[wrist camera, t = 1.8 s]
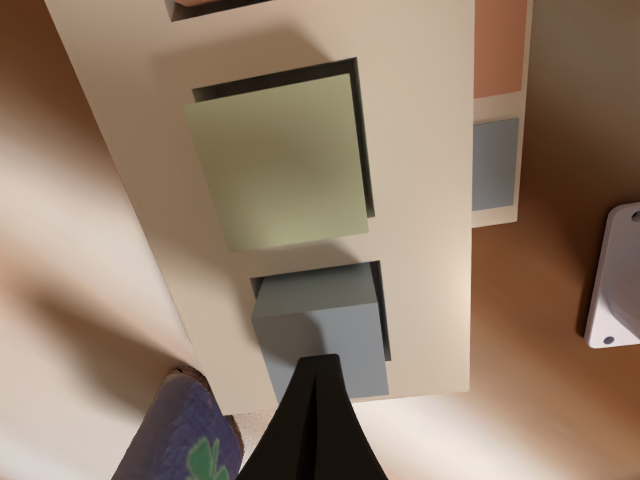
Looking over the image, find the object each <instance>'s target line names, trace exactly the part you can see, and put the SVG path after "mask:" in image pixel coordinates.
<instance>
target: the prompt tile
mask: <svg viewBox="0 0 640 480" xmlns="http://www.w3.org/2000/svg"><path fill="white" fill-rule="evenodd" d="M532 13H533V0H475V28H474V95H473V162H472V228H475V227H481V226H488V225H495V224H502V223H509V222H516V221H517V212H518V198H519V185H520V172H521V159H522V145H523V132H524V119H525V106H526V92H527V79H528V66H529V52H530V39H531V26H532Z"/></svg>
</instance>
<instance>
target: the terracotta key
mask: <svg viewBox="0 0 640 480" xmlns="http://www.w3.org/2000/svg"><path fill="white" fill-rule="evenodd" d="M173 1H175V2H178V3H180V4H182V5H184V6H186V7H188V8H189V7H193V6H198V5H202V4H207V3H211V2H216V1H221V0H173Z"/></svg>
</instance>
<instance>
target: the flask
mask: <svg viewBox="0 0 640 480" xmlns="http://www.w3.org/2000/svg"><path fill="white" fill-rule="evenodd" d="M178 369H182V371H183V373H181V372H180V371H178V370H177V369H174V370H170V371H169V373H168V374H167V375H166V377H165V378H164V380H163V382H162V384H161V386H160V388H159V389H158V391H157V393H156V396H155V398H154V400H153V402H152V404H151V406H150V408H149V409H148V411H147V413H146V416H145V418H144V420H143V422H142V424H141V426H140V428H139V429H138V431H137V433H136V435H135V436H134V438H133V440H132V442H131V444H130V446H129V447H128V449H127V451H126V453H125V455H124V457H123V459H122V460H121V462H120V464H119V466H118V468H117V470H116V472H115V474H114V475H113V477H112V479H111V480H235V479H236V477H237V476H238V473H239V469H240V466H241V463H242V459H243V456H244V452H245V451H244V444H243V441H242V435H241V433H239V427H238V425H237V423H236V422H235V421H234V418H233V417H232V416H231V415H224V416H223V415H222V413H221V410H220V408H219V406H218V403H217V401H216V399H215V396H214V394H213V392H212V389H211V387H210V385H209V382H208V380H207V379H206V378H204V377H203V376H202V375H201V373H200V372H199V371H196V370H195V369H194V368H189V367H180V368H178Z"/></svg>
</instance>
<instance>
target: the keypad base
mask: <svg viewBox="0 0 640 480" xmlns="http://www.w3.org/2000/svg"><path fill="white" fill-rule="evenodd" d="M44 1H45V3H46V6H47V8H48V10H49V12H50V15H51V17H52V19H53V22H54V24H55V26H56V29H57V31H58V33H59V36H60V38H61V40H62V43H63V45H64V47H65V50H66V52H67V54H68V57H69V59H70V61H71V64H72V66H73V68H74V71H75V73H76V75H77V78H78V80H79V82H80V85H81V87H82V89H83V92H84V94H85V96H86V99H87V101H88V103H89V106H90V108H91V110H92V112H93V115H94V117H95V119H96V122H97V124H98V126H99V129H100V131H101V133H102V136H103V138H104V140H105V143H106V145H107V147H108V150H109V152H110V154H111V157H112V159H113V161H114V164H115V166H116V168H117V171H118V173H119V175H120V178H121V180H122V182H123V185H124V187H125V189H126V192H127V194H128V196H129V199H130V201H131V203H132V206H133V208H134V210H135V213H136V215H137V217H138V219H139V222H140V224H141V226H142V229H143V231H144V233H145V236H146V238H147V240H148V243H149V245H150V247H151V250H152V252H153V254H154V257H155V259H156V261H157V264H158V266H159V268H160V271H161V273H162V275H163V278H164V280H165V282H166V285H167V287H168V289H169V292H170V294H171V296H172V299H173V301H174V303H175V306H176V308H177V310H178V313H179V315H180V317H181V319H182V322H183V324H184V326H185V329H186V331H187V333H188V336H189V338H190V340H191V343H192V345H193V347H194V350H195V352H196V354H197V357H198V359H199V361H200V364H201V366H202V368H203V371H204V373H205V375H206V378H207V380H208V382H209V385H210V387H211V389H212V392H213V394H214V396H215V399H216V401H217V403H218V406H219V408H220V410H221V413H222V415H223V416H224V415H234V414H244V413H254V412H264V411H274V410H277V408H278V406H279V405H278V402H277V399H276V396H275V393H274V389H273V386H272V383H271V380H270V377H269V374H268V371H267V368H266V365H265V362H264V358H263V355H262V352H261V349H260V346H259V343H258V340H257V337H256V334H255V331H254V327H253V324H252V321H251V316H252V313H253V310H254V307H255V304H256V301H257V298H258V294H259V291H260V288H261V285H262V282H263V279H264V276H269V275H277V274H284V273H291V272H298V271H305V270H313V269H320V268H327V267H334V266H341V265H349V264H356V263H363V262H369V264H370V269H371V273H372V278H373V283H374V287H375V292H376V297H377V301H378V309H379V317H380V325H381V333H382V341H383V349H384V357H385V365H386V373H387V381H388V389H389V395H382V396H372V397H363V398H353V399H350V402H351V403H354V402H364V401H374V400H384V399H394V398H404V397H414V396H424V395H434V394H444V393H454V392H464V391H469V364H470V297H471V229H472V162H473V95H474V28H475V0H221V1H216V2H211V3H207V4H202V5H198V6H193V7H189V8H188V7H186V6H184V5H182V4H180V3H178V2H175V1H173V0H44ZM341 74H349V75H350V84H351V92H352V100H353V108H354V116H355V124H356V132H357V140H358V148H359V156H360V164H361V172H362V180H363V188H364V196H365V204H366V212H367V220H368V228H369V233H363V234H356V235H349V236H342V237H336V238H329V239H322V240H315V241H308V242H302V243H295V244H288V245H281V246H274V247H268V248H261V249H254V250H247V251H240V252H234V253H229V250H228V247H227V244H226V241H225V238H224V235H223V232H222V228H221V225H220V222H219V219H218V216H217V213H216V210H215V207H214V204H213V201H212V197H211V194H210V191H209V188H208V185H207V182H206V179H205V176H204V173H203V170H202V167H201V163H200V160H199V157H198V154H197V151H196V148H195V145H194V142H193V139H192V136H191V132H190V129H189V126H188V123H187V120H186V117H185V114H184V111H183V108H182V106H183V105H188V104H192V103H197V102H202V101H207V100H212V99H217V98H222V97H227V96H232V95H237V94H243V93H248V92H253V91H258V90H263V89H269V88H274V87H279V86H284V85H289V84H295V83H300V82H305V81H310V80H315V79H321V78H326V77H331V76H336V75H341Z"/></svg>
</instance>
